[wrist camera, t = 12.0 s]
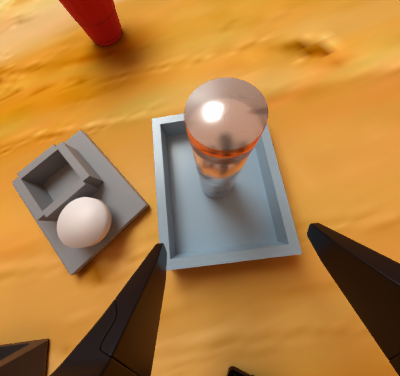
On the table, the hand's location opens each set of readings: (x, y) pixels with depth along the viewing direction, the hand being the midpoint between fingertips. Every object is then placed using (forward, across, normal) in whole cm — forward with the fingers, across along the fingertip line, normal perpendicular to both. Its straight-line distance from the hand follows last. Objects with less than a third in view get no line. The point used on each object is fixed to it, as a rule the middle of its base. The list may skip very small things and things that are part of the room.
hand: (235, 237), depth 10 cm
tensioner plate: (+12, +19, +2) cm, 23 cm away
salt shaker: (+11, 0, +2) cm, 11 cm away
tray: (+12, 0, +3) cm, 12 cm away
